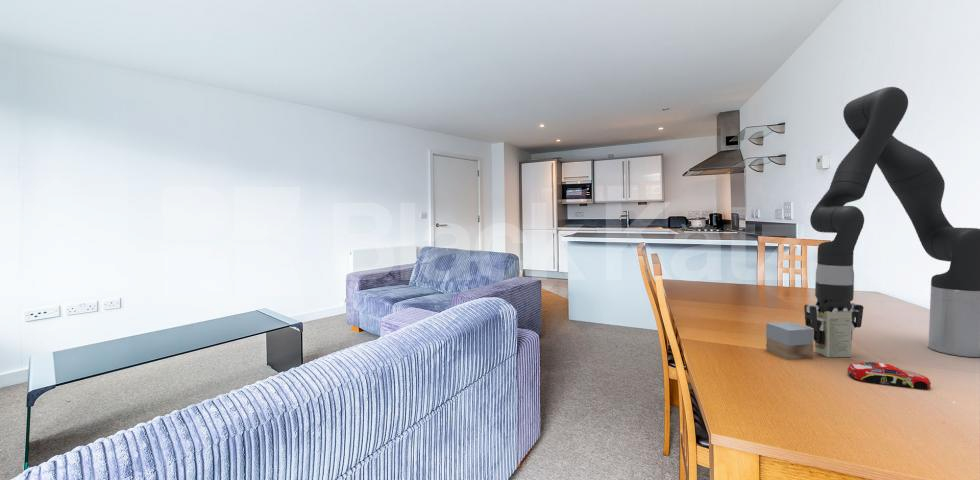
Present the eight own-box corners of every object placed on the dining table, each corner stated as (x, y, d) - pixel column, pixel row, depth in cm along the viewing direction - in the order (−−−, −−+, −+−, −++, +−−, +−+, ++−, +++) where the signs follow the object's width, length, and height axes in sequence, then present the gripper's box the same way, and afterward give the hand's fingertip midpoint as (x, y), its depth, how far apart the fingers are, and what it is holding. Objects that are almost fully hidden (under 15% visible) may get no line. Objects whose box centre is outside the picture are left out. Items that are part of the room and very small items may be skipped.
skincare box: (838, 351, 103) (839, 307, 102) (852, 357, 98) (853, 311, 98) (813, 351, 103) (814, 307, 103) (825, 357, 99) (827, 311, 98)
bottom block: (790, 350, 106) (791, 336, 105) (812, 359, 99) (813, 344, 98) (766, 350, 105) (766, 336, 105) (786, 360, 98) (787, 345, 98)
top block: (789, 335, 106) (789, 321, 105) (812, 344, 99) (813, 329, 98) (766, 337, 105) (766, 323, 105) (788, 345, 98) (788, 330, 98)
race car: (922, 383, 84) (923, 365, 84) (937, 393, 79) (938, 375, 79) (844, 373, 90) (845, 356, 90) (853, 382, 85) (854, 364, 85)
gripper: (847, 278, 103) (845, 338, 104) (795, 279, 103) (794, 339, 104) (875, 283, 96) (873, 347, 97) (819, 284, 96) (817, 348, 97)
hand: (832, 343), depth 101 cm, fingers closed on skincare box, 6 cm apart
